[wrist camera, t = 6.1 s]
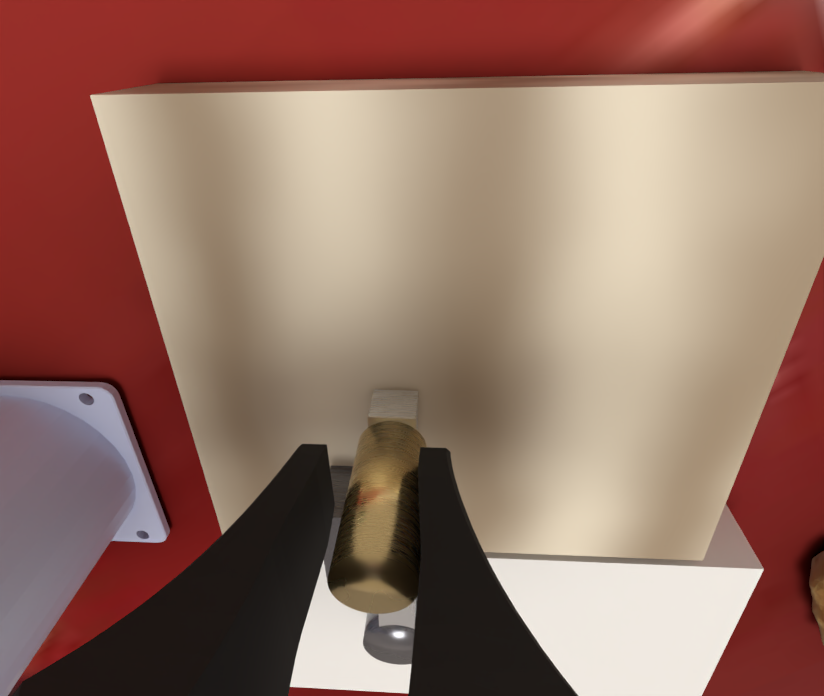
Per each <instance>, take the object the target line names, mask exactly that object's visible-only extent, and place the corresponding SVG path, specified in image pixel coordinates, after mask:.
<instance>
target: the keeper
mask: <svg viewBox="0 0 824 696" xmlns="http://www.w3.org/2000/svg"><path fill="white" fill-rule="evenodd" d="M352 468H353V466H332V465H331V467H330V472H331V479H332V487H333V494H334V502H335V507H334V513H333V519H332V525H331V531H330V536H329V542H328V546H327V550H326V553H325V557H324V565H325V571H326V577H327V579H328V574H329V570H330V565H331V561H332V556H333V552H334V548H335V543H336V539H337V534H338V530H339V526H340V521H341V517H342V512H343V508H344V504H345V499H346V495H347V490H348V486H349V482H350V477H351V473H352Z"/></svg>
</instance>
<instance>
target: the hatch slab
mask: <svg viewBox="0 0 824 696" xmlns="http://www.w3.org/2000/svg"><path fill="white" fill-rule="evenodd" d="M90 97H91V100H92V104H93V107H94V110H95V114H96V117H97V120H98V123H99V127H100V130H101V133H102V137H103V140H104V143H105V147H106V150H107V153H108V157H109V160H110V163H111V167H112V170H113V173H114V177H115V180H116V183H117V187H118V190H119V193H120V196H121V200H122V203H123V206H124V210H125V213H126V216H127V220H128V223H129V226H130V230H131V233H132V236H133V240H134V243H135V246H136V250H137V253H138V256H139V260H140V263H141V266H142V269H143V273H144V276H145V279H146V283H147V286H148V289H149V293H150V296H151V299H152V303H153V306H154V309H155V313H156V316H157V319H158V323H159V326H160V329H161V333H162V336H163V339H164V342H165V346H166V349H167V352H168V356H169V359H170V362H171V366H172V369H173V372H174V376H175V379H176V382H177V386H178V389H179V392H180V396H181V399H182V402H183V406H184V409H185V412H186V415H187V419H188V422H189V425H190V429H191V432H192V435H193V439H194V442H195V445H196V449H197V452H198V455H199V459H200V462H201V465H202V469H203V472H204V475H205V478H206V482H207V485H208V488H209V492H210V495H211V498H212V502H213V505H214V508H215V512H216V515H217V518H218V522H219V525H220V528H221V532H222V535H223V534H224V533H225V531H226V530H227V529H228V528H229V527H230V526H231V525H232V524H233V523H234V522H235V521H236V520H237V519H238V518H239V517H240V516H241V515H242V514H243V513H244V512H245V511H246V509H247V508H248V507H249V506H250V505H251V504H252V503H253V502H254V500H255V499H256V498H257V497H258V496H259V495H260V493H261V492H262V491H263V490H264V489H265V488H266V487H267V485H268V484H269V483H270V482H271V481H272V479H273V478H274V477H275V476H276V475H277V473H278V472H279V471H280V470H281V468H282V467H283V466H284V465H285V463H286V462H287V461H288V460H289V458H290V457H291V456H292V454H293V453H294V452H295V451H296V449H297V448H298V447H299V446H300V445H301V444H327V450H328V457H329V465H330V467H331V465H332V466H353V464H354V459H355V455H356V451H357V446H358V442H359V438H360V436H361V434H362V433H363V432H364V431H365V430H366V429H367V428H368V427H369V426H368V415H369V410H370V405H371V401H372V396H373V392H374V389H378V390H405V391H418V432H419V433H420V434H421V435H422V436H423V438H424V439H425V442H426V445H427V447H431V448H447V449H448V450H449V451H450V452H451V461H452V467H453V472H454V476H455V480H456V483H457V486H458V490H459V493H460V496H461V499H462V502H463V504H464V507H465V509H466V512H467V515H468V517H469V520H470V522H471V525H472V527H473V529H474V532H475V534H476V536H477V538H478V540H479V543H480V545H481V547H482V549H483V551H484V552H495V553H521V554H546V555H572V556H597V557H623V558H648V559H674V560H699V561H703V559H704V557H705V554H706V552H707V549H708V547H709V544H710V542H711V539H712V537H713V534H714V531H715V529H716V526H717V524H718V521H719V519H720V516H721V514H722V511H723V509H724V506H725V504H726V501H727V499H728V496H729V494H730V491H731V489H732V486H733V484H734V481H735V479H736V476H737V473H738V471H739V468H740V466H741V463H742V461H743V458H744V456H745V453H746V451H747V448H748V446H749V443H750V441H751V438H752V436H753V433H754V431H755V428H756V426H757V423H758V421H759V418H760V416H761V413H762V410H763V408H764V405H765V403H766V400H767V398H768V395H769V393H770V390H771V388H772V385H773V383H774V380H775V378H776V375H777V373H778V370H779V368H780V365H781V363H782V360H783V358H784V355H785V352H786V350H787V347H788V345H789V342H790V340H791V337H792V335H793V332H794V330H795V327H796V325H797V322H798V320H799V317H800V315H801V312H802V310H803V307H804V305H805V302H806V300H807V297H808V295H809V292H810V289H811V287H812V284H813V282H814V279H815V277H816V274H817V272H818V269H819V267H820V264H821V262H822V259H823V257H824V73H819V72H810V71H769V72H718V73H666V74H615V75H564V76H512V77H461V78H410V79H358V80H307V81H255V82H204V83H157V84H151V85H146V86H140V87H134V88H128V89H123V90H117V91H111V92H105V93H100V94H94V95H90Z"/></svg>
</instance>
